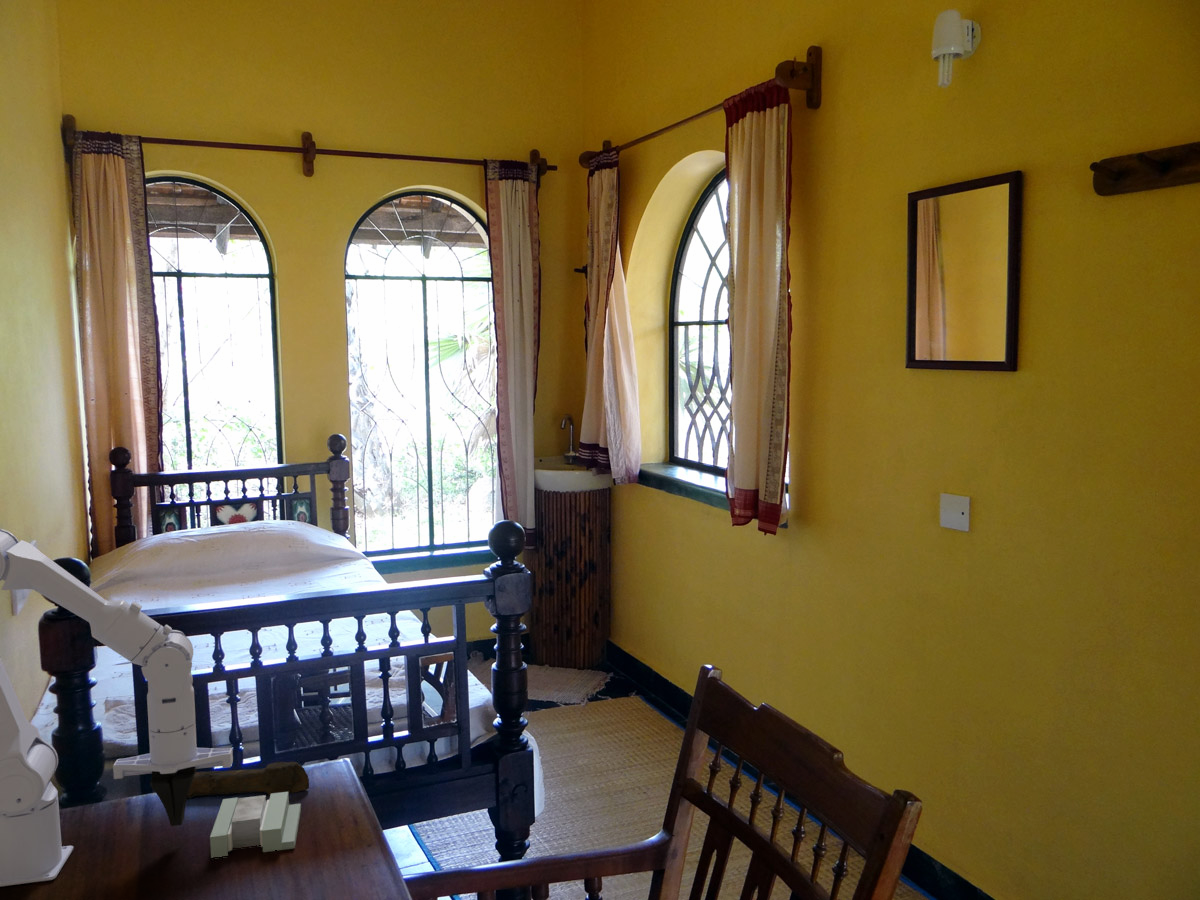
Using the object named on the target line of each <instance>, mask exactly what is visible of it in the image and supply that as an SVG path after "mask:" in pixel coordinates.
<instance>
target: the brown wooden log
mask: <svg viewBox="0 0 1200 900" xmlns="http://www.w3.org/2000/svg"><path fill="white" fill-rule="evenodd" d="M309 788H310V779H309V775H308V773H307V772H306V770H305V767H303V766H302V765H301V764H300V763H299V762H297V761H287V762H286V761H276V762H272V763H268V764H267V765H266V766H265V767H263V768H251V769H239V770H238V769H237V770H223V771H222V770H221V771H219V770H212V771H196V773H195V776H194V778H193V781H192V784H191V787H190V790H189V793H188V797H187V799H191V800H192V799H193V798H194V797H198V796H199V797H200V796H213V795H230V794H231V795H232V794H244V793H245V794H246V793H266V794H267V795H268V796H269V795H271V794H272V793H281V792H288V794H295V793H298V792H301V791H307V790H308V789H309Z"/></svg>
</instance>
